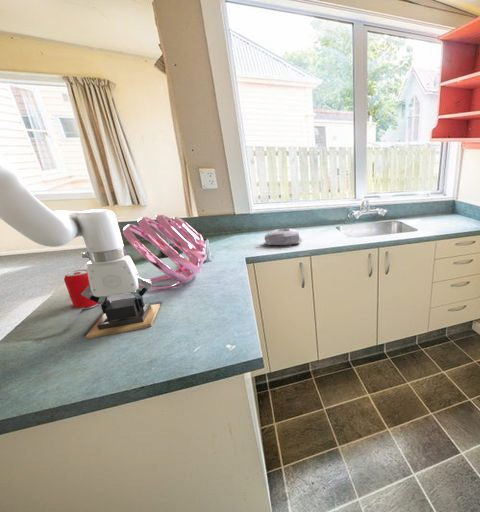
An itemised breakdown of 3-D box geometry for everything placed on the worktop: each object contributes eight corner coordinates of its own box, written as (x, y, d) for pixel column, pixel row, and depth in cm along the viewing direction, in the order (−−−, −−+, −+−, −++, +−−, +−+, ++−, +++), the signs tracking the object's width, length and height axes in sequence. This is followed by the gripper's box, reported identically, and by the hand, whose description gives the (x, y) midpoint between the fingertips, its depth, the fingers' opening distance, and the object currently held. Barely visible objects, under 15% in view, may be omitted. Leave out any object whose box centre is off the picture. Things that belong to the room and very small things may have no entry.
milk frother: (168, 258, 144) (162, 228, 140) (146, 254, 149) (139, 225, 144) (195, 250, 157) (189, 222, 153) (173, 247, 162) (167, 220, 157)
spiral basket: (73, 249, 90) (154, 195, 98) (112, 247, 116) (173, 204, 123) (150, 311, 99) (218, 257, 107) (170, 297, 125) (224, 254, 132)
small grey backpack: (300, 238, 182) (265, 241, 176) (299, 225, 179) (264, 227, 173) (301, 245, 168) (263, 247, 162) (300, 231, 165) (261, 233, 160)
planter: (210, 261, 140) (206, 240, 136) (199, 262, 138) (195, 241, 135) (212, 258, 144) (209, 238, 141) (202, 259, 142) (198, 239, 139)
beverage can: (98, 300, 101) (87, 267, 97) (103, 305, 97) (92, 271, 94) (72, 307, 96) (60, 273, 92) (77, 313, 93) (64, 277, 89)
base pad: (87, 338, 79) (84, 330, 79) (105, 315, 91) (103, 308, 91) (151, 326, 86) (149, 319, 85) (160, 306, 97) (158, 299, 97)
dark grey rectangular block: (108, 321, 84) (104, 310, 82) (115, 311, 89) (112, 300, 88) (136, 316, 86) (133, 305, 85) (142, 306, 92) (139, 296, 91)
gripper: (59, 263, 75) (81, 325, 81) (143, 254, 83) (158, 311, 88) (72, 255, 81) (91, 312, 87) (149, 247, 89) (163, 301, 94)
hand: (125, 311), depth 87 cm, fingers closed on dark grey rectangular block, 6 cm apart
